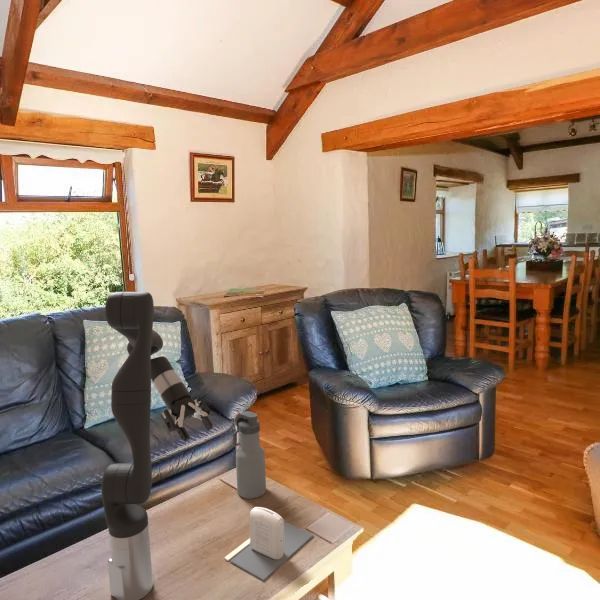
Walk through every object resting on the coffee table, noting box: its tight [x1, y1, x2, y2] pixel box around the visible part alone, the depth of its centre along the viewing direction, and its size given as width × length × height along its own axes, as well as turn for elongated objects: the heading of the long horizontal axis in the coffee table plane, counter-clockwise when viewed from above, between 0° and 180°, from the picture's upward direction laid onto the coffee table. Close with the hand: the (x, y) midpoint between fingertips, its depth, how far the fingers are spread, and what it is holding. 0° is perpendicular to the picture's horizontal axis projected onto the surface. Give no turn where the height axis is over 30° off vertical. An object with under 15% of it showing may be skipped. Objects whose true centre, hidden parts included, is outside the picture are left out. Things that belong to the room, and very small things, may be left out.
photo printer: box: [248, 506, 285, 559], centre depth 132 cm, size 10×4×12 cm, turn 57°
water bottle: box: [232, 410, 267, 500], centre depth 161 cm, size 10×10×28 cm
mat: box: [224, 520, 314, 582], centre depth 135 cm, size 22×14×1 cm, turn 143°
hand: (199, 434), depth 138 cm, fingers open, 8 cm apart
